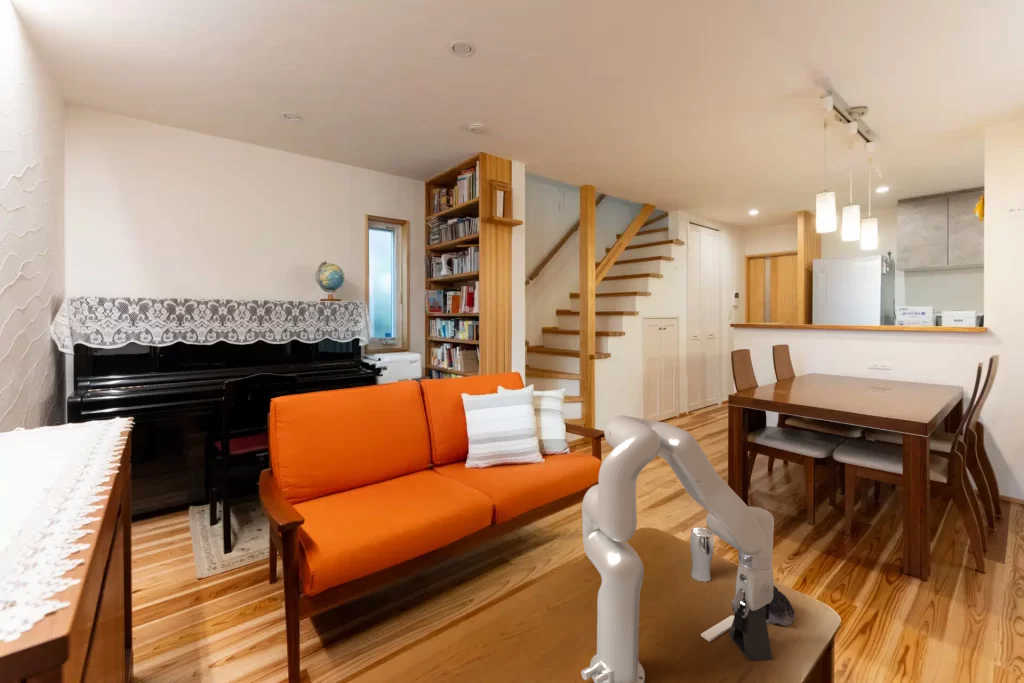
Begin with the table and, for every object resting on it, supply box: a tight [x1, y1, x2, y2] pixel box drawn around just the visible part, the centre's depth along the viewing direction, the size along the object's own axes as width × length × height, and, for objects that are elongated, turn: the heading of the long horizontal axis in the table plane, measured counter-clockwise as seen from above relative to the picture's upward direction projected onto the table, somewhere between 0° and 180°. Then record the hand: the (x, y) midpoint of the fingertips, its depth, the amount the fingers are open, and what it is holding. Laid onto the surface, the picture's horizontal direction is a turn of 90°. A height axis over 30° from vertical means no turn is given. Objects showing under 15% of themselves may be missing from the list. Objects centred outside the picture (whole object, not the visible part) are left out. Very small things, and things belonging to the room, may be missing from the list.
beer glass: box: [689, 526, 714, 583], centre depth 144 cm, size 7×7×15 cm
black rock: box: [766, 585, 795, 627], centre depth 127 cm, size 13×14×10 cm
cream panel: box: [700, 614, 735, 642], centre depth 120 cm, size 14×2×1 cm, turn 122°
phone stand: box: [728, 600, 773, 662], centre depth 113 cm, size 9×6×12 cm, turn 4°
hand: (751, 623), depth 114 cm, fingers open, 9 cm apart
